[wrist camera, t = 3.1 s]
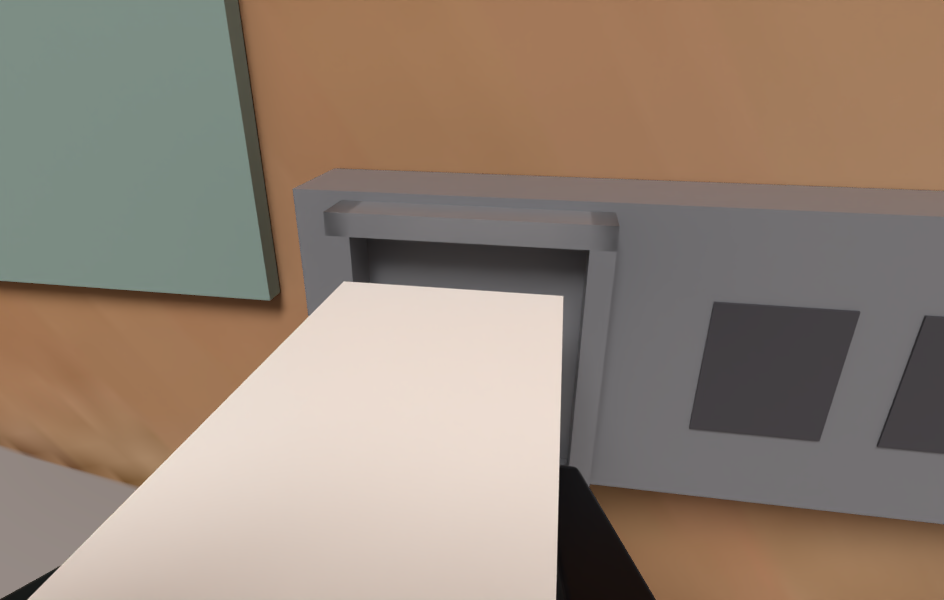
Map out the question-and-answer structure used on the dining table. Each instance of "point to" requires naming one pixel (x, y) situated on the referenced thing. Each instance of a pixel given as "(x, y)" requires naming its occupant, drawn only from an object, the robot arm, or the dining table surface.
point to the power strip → (690, 320)
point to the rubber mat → (131, 149)
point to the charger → (359, 465)
